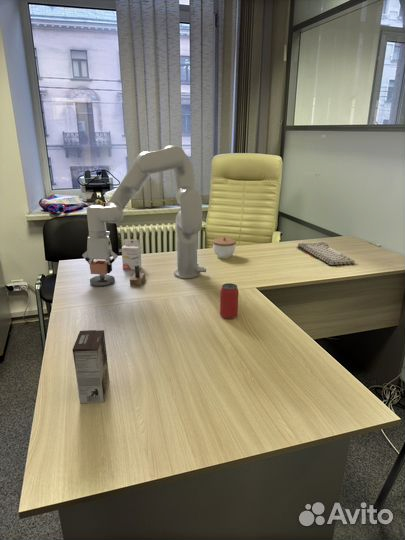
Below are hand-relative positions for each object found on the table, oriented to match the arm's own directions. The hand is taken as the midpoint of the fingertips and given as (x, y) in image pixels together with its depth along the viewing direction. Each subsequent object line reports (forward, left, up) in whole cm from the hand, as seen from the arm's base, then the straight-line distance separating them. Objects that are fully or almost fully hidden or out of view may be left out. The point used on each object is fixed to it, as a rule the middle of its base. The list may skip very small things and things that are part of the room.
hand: (101, 271), depth 168 cm
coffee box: (-26, +74, -6) cm, 79 cm away
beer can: (-59, +26, -5) cm, 65 cm away
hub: (0, 0, -5) cm, 5 cm away
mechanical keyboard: (-110, -55, -6) cm, 123 cm away
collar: (0, 0, 0) cm, 0 cm away
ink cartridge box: (-8, -20, -6) cm, 22 cm away
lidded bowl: (-53, -45, -6) cm, 70 cm away
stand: (-16, -2, -5) cm, 17 cm away
